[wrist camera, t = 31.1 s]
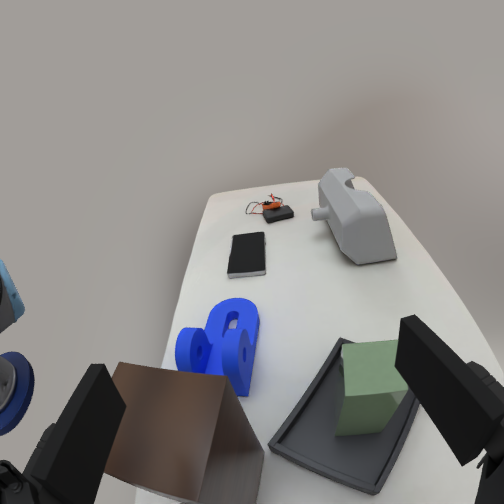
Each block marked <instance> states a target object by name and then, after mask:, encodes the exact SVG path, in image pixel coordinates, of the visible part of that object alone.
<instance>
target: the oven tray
mask: <svg viewBox="0 0 504 504" xmlns="http://www.w3.org/2000/svg"><path fill="white" fill-rule="evenodd" d="M351 343H355V342H352V341H349V340H346V339H343V338H339V339H338V341H337V343H336V344H335V346H334V348H333V349H332V351H331V353H330V354H329V356H328V358H327V359H326V361H325V363H324V364H323V366H322V367H321V369H320V370H319V372H318V374H317V375H316V377H315V378H314V380H313V381H312V383H311V384H310V386H309V387H308V389H307V390H306V392H305V393H304V395H303V396H302V398H301V399H300V401H299V402H298V404H297V405H296V406H295V408H294V409H293V411H292V412H291V413H290V415H289V416H288V418H287V419H286V420H285V422H284V423H283V424H282V426H281V427H280V429H279V430H278V431H277V433H276V434H275V435H274V436H273V438H272V439H271V440H270V442H269V443H268V447H269V449H270V450H271V451H273V452H275V453H277V454H279V455H280V456H282V457H284V458H286V459H288V460H290V461H292V462H294V463H296V464H298V465H300V466H302V467H304V468H306V469H309V470H311V471H313V472H315V473H317V474H320V475H322V476H324V477H326V478H329V479H331V480H333V481H336V482H338V483H341V484H343V485H346V486H348V487H351V488H354V489H356V490H359V491H362V492H365V493H368V494H370V495H373V496H374V495H376V494H378V493H379V492H380V490H381V488H382V487H383V485H384V483H385V481H386V479H387V477H388V476H389V474H390V472H391V470H392V468H393V466H394V464H395V462H396V460H397V458H398V456H399V453H400V451H401V449H402V447H403V445H404V442H405V440H406V438H407V435H408V433H409V431H410V428H411V426H412V423H413V421H414V418H415V415H416V413H417V410H418V407H419V405H420V402H419V400H418V399H417V398H416V396H415V395H414V393H413V392H412V390H411V389H410V388H409V386H408V391H407V393H406V394H405V396H404V398H403V399H402V401H401V403H400V404H399V406H398V408H397V409H396V411H395V412H394V414H393V415H392V417H391V419H390V420H389V422H388V423H387V425H386V426H385V428H384V429H383V430H382V432H379V433H370V434H360V435H347V436H334V426H335V390H336V384H337V378H338V372H339V365H340V358H341V350H342V344H351Z"/></svg>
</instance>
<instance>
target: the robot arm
mask: <svg viewBox="0 0 504 504" xmlns="http://www.w3.org/2000/svg"><path fill="white" fill-rule="evenodd" d="M24 311H25V307H24V304H23V302H22V300H21V298H20V296H19V293H18V291H17V289H16V287H15V285H14V283H13V281H12V279H11V277H10V275H9V273H8V271H7V269H6V267H5V265H4V263H3V261H2V260H1V259H0V333H1V332H3V331H4V330H5V329H6V328H7V327H9V326H10V325H11V324H12V323H15V322H16V321H17V319H18V318H20V317H21V316H22V315H23V314H24ZM394 367H395V368H396V369H397V371H398V372H399V374H400V375H401V376H402V378H403V379H404V381H405V382H406V383H407V385H408V386H409V388H410V389H411V390H412V392H413V393H414V395H415V396H416V398H417V399H418V400H419V402H420V403H421V405H422V406H423V408H424V409H425V411H426V412H427V414H428V415H429V417H430V418H431V420H432V421H433V423H434V424H435V425H436V427H437V429H438V430H439V432H440V433H441V435H442V436H443V438H444V439H445V441H446V442H447V444H448V445H449V447H450V448H451V450H452V452H453V453H454V455H455V456H456V458H457V459H458V461H459V463H460V464H461V466H464V465H465V464H467V463H469V462H470V461H472V460H473V459H475V458H476V457H478V455H479V454H480V453H481V451H482V450H483V448H484V449H485V450H486V452H487V453H486V454H485V456H484V457H483V458H482V459H481V461H480V462H479V463H478V465H477V468H478V469H479V468H480V466H481V465H482V464H483V468H482V474H481V479H480V483H479V488H478V492H477V496H476V500H475V504H504V387H503V386H502V385H501V384H500V383H499V382H498V381H497V382H496V379H495V378H494V377H493V376H492V375H490V373H489V372H488V371H487V370H486V369H485V368H484V367H483V366H481V365H479V364H477V363H475V362H473V361H471V362H469V363H467V364H466V363H465V362H464V361H463V360H462V359H461V358H460V357H459V356H458V355H457V354H456V353H455V352H454V351H453V350H452V349H451V348H450V347H449V346H448V345H447V344H446V343H445V342H444V341H442V340H441V339H440V338H439V337H438V336H437V335H436V334H435V333H434V332H433V331H432V330H431V329H430V328H429V327H428V326H427V325H426V324H425V323H424V322H422V321H421V320H420V319H419V318H418V317H417V316H416V315H415V314H414V315H411V316H408V317H404V318H401V321H400V330H399V338H398V345H397V352H396V359H395V365H394ZM17 382H18V376H17V371H16V369H15V367H14V366H13V365H12V364H11V363H10V362H9V361H8V360H6V359H5V358H3V357H1V356H0V414H1V413H2V412H3V411H4V410H5V409H6V408H7V407H8V405H9V404H10V402H11V401H12V399H13V396H14V394H15V391H16V388H17ZM126 407H127V406H126V404H125V402H124V400H123V399H122V397H121V395H120V393H119V391H118V390H117V388H116V386H115V384H114V382H113V380H112V378H111V376H110V374H109V372H108V370H107V368H106V366H105V364H91V365H90V366H89V368H88V369H87V371H86V373H85V375H84V376H83V378H82V379H81V381H80V383H79V384H78V386H77V388H76V389H75V391H74V393H73V394H72V396H71V398H70V400H69V401H68V403H67V405H66V406H65V408H64V410H63V412H62V414H61V415H60V417H59V419H58V421H57V422H56V424H54V423H52V424H51V425H50V426H49V427H48V428H47V429H46V430H45V431H44V433H43V435H42V437H41V439H40V441H39V442H38V444H37V446H36V447H37V448H35V450H34V452H33V454H32V456H31V457H30V459H29V461H28V463H27V465H26V467H25V470H24V471H23V473H22V474H21V473H20V472H19V471H18V470H17V469H16V468H15V467H14V466H13V465H12V464H11V463H10V462H9V461H6V460H0V504H94V501H95V498H96V495H97V491H98V488H99V485H100V482H101V478H102V475H103V472H104V469H105V466H106V463H107V460H108V457H109V454H110V451H111V448H112V446H113V443H114V440H115V437H116V434H117V431H118V429H119V426H120V423H121V420H122V418H123V415H124V412H125V410H126Z"/></svg>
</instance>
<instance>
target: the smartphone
mask: <svg viewBox="0 0 504 504" xmlns="http://www.w3.org/2000/svg"><path fill="white" fill-rule="evenodd" d="M265 245H266V242H265V234H264V232H255V233H247V234H239V235H234V236H232V241H231V246H230V248H231V249H230V256H229V263H228V271H227V274H228V277H229V278H238V277H247V276H256V275H264V274H265V273H266V258H265Z"/></svg>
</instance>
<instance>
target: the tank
mask: <svg viewBox="0 0 504 504" xmlns="http://www.w3.org/2000/svg"><path fill="white" fill-rule="evenodd" d="M354 178H355V176H354V175H353V174H352V173H351V172H350V171H349V170H348V169H347V168H335V169H328V171H327V172H326V174H325V175H324V176H323V178H322V179H321V180H320V182H319V183H318V192H319V205H320V207H321V208H316V209H311V214H312V219H313V221H317V220H327V222H328V224H329V226H330V228H331V230H332V232H333V234H334V236H335V239H336V241H337V243H338V245H339V247H340V250H341V251H342V252H343V253H344V254H346V255H347V256H348V257H349V258H350V259H351V260H352V261H354V262H355V263H356V264H357V265H358V264H365V263H371V262H378V261H384V260H390V259H396V258H397V254H396V250H395V246H394V242H393V238H392V234H391V230H390V227H389V223H388V220H387V216H386V213H385V211H384V209H383V207H382V206H381V204H380V203H379V202H378V201H377V200H376V199H375V198H374V197H373V195H372V194H371V193H370V192H368V191H362V190H355V189H354V187H353V184H352V182H351V179H354Z"/></svg>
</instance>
